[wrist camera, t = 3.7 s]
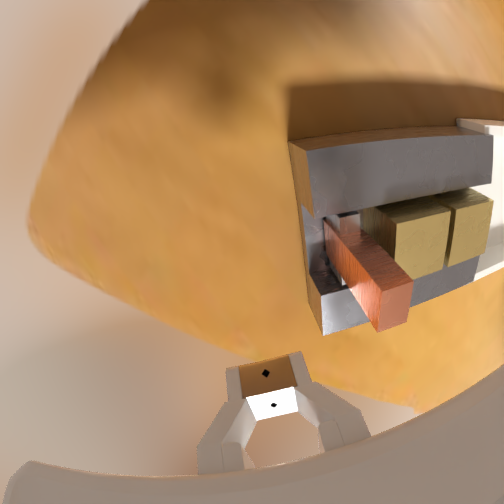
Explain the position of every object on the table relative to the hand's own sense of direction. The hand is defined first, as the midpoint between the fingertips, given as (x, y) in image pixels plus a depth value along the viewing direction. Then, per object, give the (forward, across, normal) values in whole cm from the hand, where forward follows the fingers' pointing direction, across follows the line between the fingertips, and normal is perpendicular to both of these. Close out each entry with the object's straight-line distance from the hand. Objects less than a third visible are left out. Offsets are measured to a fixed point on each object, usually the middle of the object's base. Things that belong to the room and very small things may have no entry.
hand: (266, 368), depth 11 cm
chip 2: (+8, -10, -1) cm, 13 cm away
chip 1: (+8, -14, -1) cm, 17 cm away
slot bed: (+9, -11, -1) cm, 14 cm away
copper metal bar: (+8, -6, -1) cm, 10 cm away
